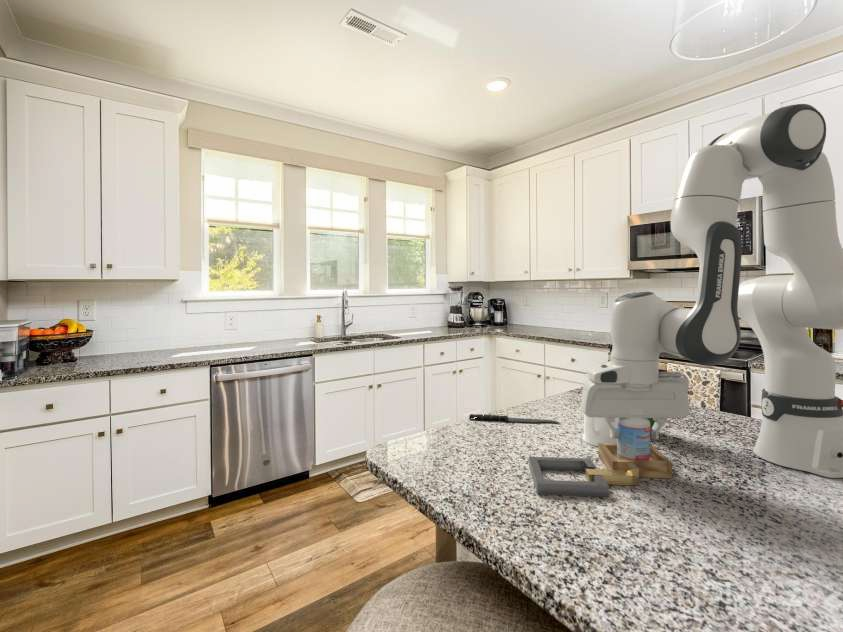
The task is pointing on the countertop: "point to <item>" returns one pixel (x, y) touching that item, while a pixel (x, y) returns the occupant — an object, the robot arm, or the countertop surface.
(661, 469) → the tray
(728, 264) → the robot arm
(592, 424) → the mug
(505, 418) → the knife
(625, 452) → the pill bottle
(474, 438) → the countertop surface
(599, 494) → the socket
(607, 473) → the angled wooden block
